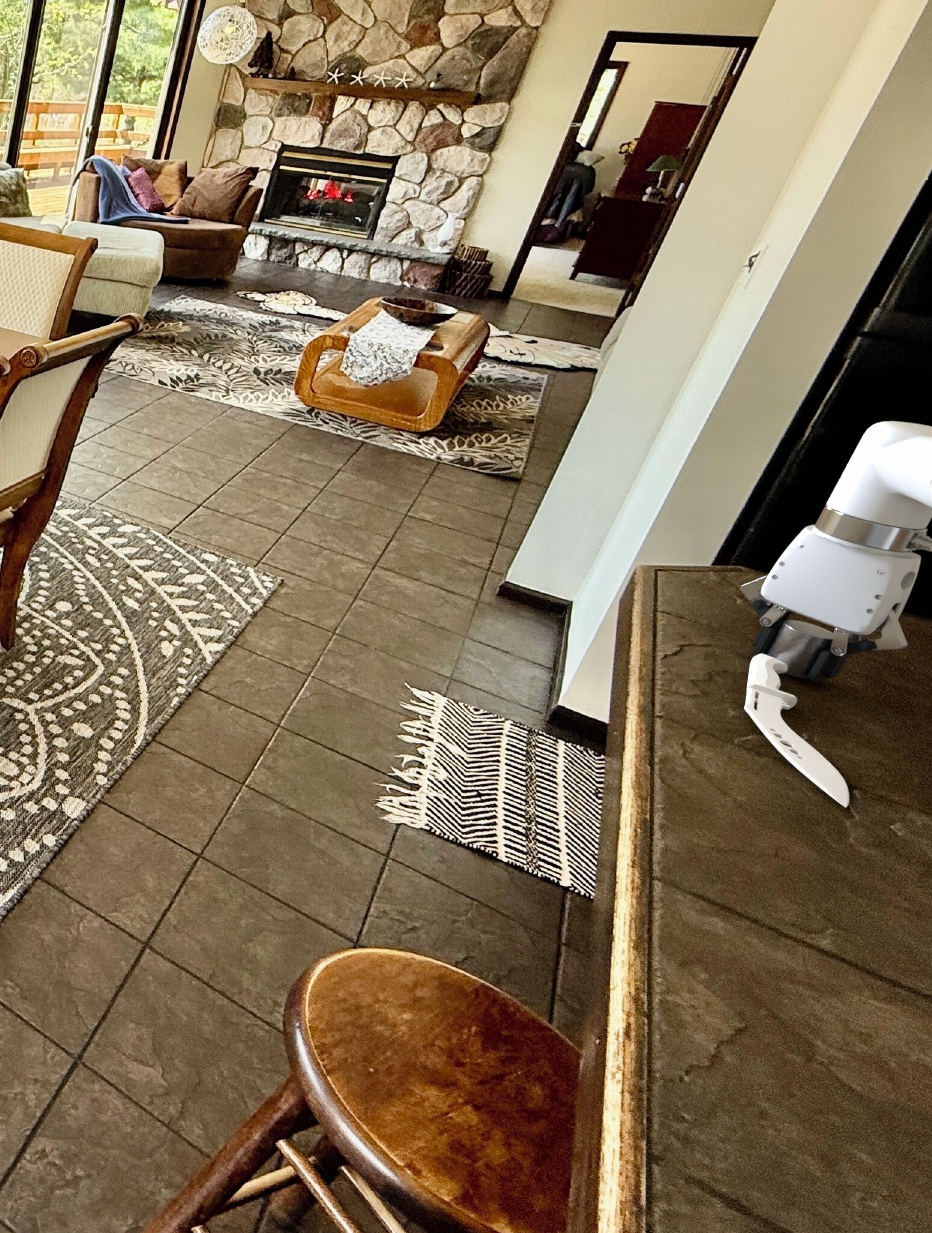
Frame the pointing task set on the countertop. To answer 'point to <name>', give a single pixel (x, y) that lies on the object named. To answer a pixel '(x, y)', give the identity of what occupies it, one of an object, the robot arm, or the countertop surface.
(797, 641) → the cylinder
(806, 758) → the knife
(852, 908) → the countertop surface
